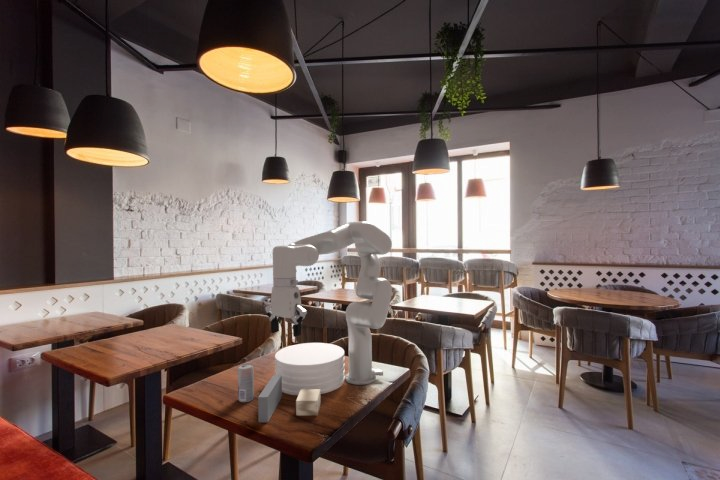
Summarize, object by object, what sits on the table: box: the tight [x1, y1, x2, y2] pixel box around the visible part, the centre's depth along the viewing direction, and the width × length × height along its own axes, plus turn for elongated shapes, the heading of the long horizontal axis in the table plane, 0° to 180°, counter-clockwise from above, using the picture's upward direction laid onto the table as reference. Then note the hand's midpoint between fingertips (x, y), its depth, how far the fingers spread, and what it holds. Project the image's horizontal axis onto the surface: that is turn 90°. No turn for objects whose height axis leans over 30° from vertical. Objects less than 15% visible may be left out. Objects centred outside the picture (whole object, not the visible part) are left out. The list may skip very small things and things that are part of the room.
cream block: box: [295, 389, 322, 416], centre depth 120 cm, size 7×9×5 cm
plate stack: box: [274, 342, 346, 396], centre depth 144 cm, size 28×28×12 cm
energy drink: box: [237, 363, 255, 403], centre depth 128 cm, size 5×5×12 cm
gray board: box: [257, 374, 283, 423], centre depth 121 cm, size 3×18×8 cm, turn 179°
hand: (285, 333), depth 118 cm, fingers open, 9 cm apart
